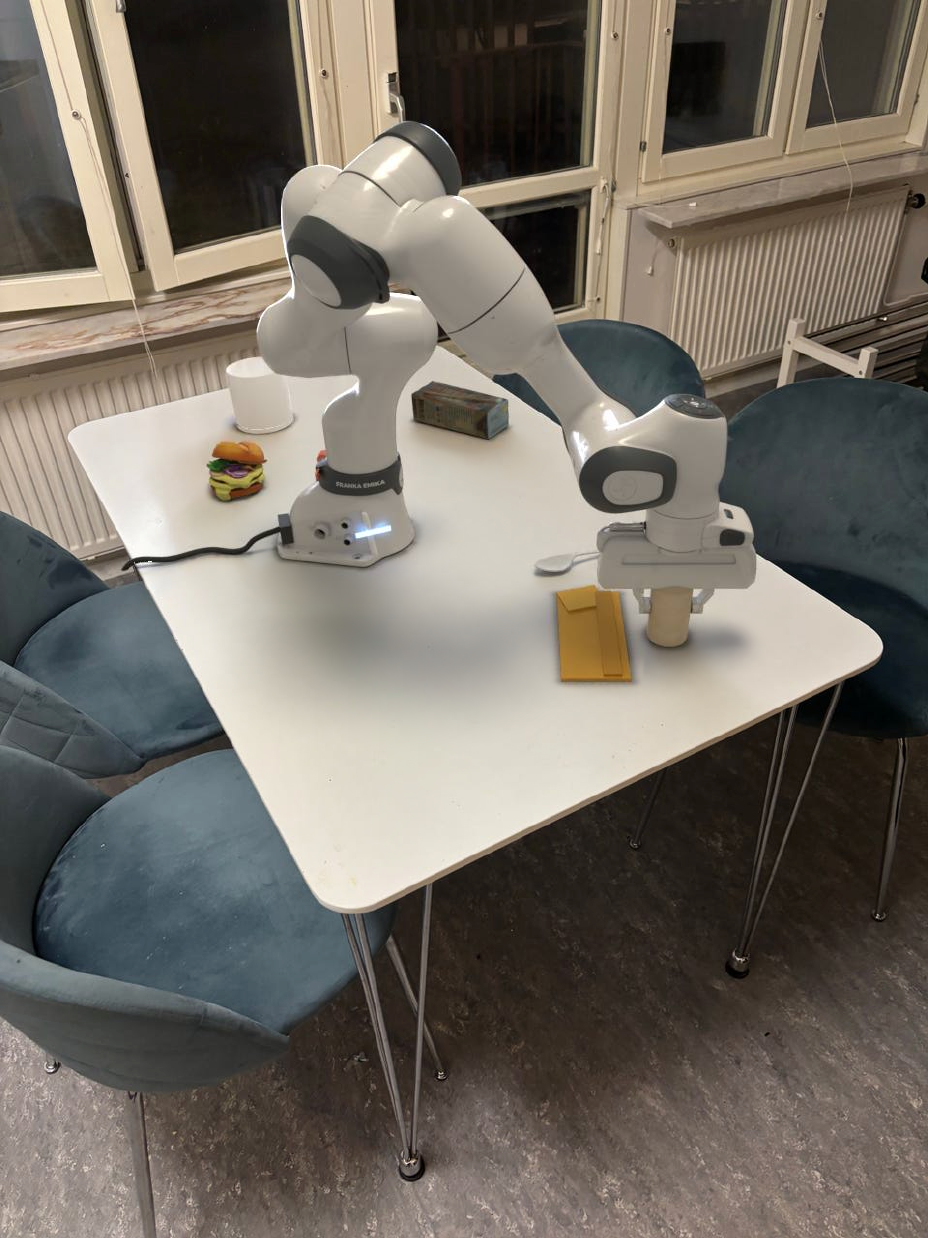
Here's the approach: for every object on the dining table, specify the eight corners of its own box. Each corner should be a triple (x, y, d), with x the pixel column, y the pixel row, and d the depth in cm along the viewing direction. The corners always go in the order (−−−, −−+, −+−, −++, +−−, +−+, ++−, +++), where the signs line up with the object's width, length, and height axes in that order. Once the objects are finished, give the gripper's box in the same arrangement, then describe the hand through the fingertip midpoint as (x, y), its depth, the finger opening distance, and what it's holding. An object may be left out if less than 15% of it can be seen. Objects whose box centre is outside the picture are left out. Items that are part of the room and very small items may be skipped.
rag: (560, 681, 118) (560, 675, 118) (555, 589, 135) (556, 584, 135) (631, 681, 117) (631, 676, 117) (617, 589, 135) (617, 584, 134)
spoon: (528, 567, 140) (528, 558, 139) (643, 536, 146) (643, 527, 145) (540, 580, 137) (540, 571, 136) (657, 548, 143) (658, 539, 142)
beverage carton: (488, 441, 178) (487, 409, 174) (410, 421, 187) (408, 391, 183) (510, 426, 183) (509, 395, 179) (433, 408, 192) (431, 378, 188)
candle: (687, 649, 122) (695, 587, 117) (645, 645, 123) (651, 584, 118) (687, 625, 127) (695, 564, 121) (647, 621, 128) (653, 561, 122)
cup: (239, 413, 194) (228, 358, 187) (294, 408, 195) (285, 354, 188) (234, 436, 185) (222, 379, 178) (291, 431, 186) (282, 374, 178)
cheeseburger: (196, 498, 163) (192, 442, 159) (231, 485, 172) (228, 432, 169) (244, 505, 160) (240, 449, 156) (277, 492, 169) (275, 438, 165)
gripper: (599, 535, 113) (594, 625, 121) (767, 534, 111) (750, 625, 119) (596, 510, 118) (591, 598, 126) (756, 509, 116) (741, 598, 124)
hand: (670, 611), depth 123 cm, fingers closed on candle, 5 cm apart
